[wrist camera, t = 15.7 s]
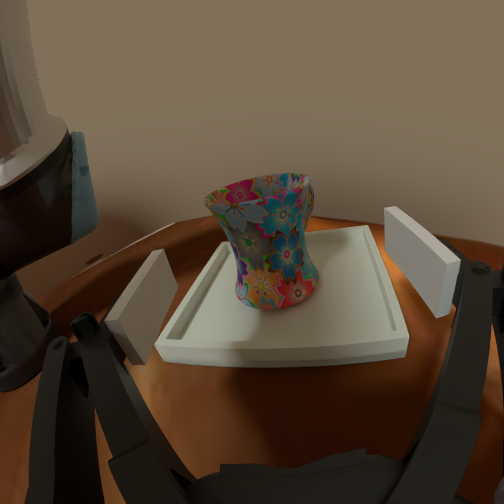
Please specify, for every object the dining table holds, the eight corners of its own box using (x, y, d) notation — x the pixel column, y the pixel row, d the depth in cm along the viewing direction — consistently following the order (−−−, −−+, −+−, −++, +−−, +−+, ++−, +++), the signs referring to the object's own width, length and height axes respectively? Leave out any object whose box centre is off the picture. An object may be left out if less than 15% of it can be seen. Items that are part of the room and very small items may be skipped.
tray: (164, 361, 23) (154, 344, 22) (225, 256, 40) (221, 242, 39) (405, 357, 17) (409, 336, 16) (368, 240, 34) (367, 225, 34)
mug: (280, 333, 22) (252, 208, 18) (216, 298, 29) (184, 202, 24) (354, 265, 29) (345, 166, 24) (291, 249, 35) (275, 167, 31)
